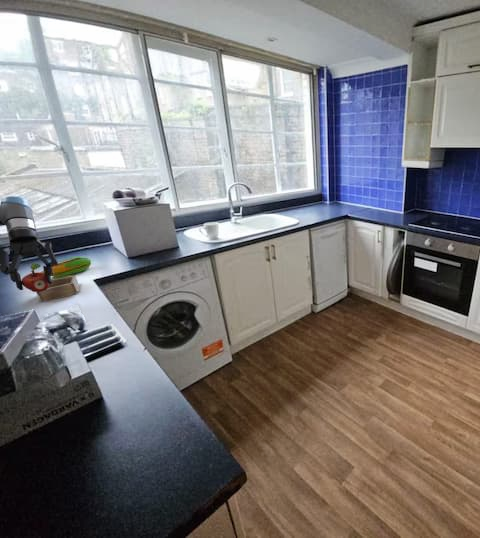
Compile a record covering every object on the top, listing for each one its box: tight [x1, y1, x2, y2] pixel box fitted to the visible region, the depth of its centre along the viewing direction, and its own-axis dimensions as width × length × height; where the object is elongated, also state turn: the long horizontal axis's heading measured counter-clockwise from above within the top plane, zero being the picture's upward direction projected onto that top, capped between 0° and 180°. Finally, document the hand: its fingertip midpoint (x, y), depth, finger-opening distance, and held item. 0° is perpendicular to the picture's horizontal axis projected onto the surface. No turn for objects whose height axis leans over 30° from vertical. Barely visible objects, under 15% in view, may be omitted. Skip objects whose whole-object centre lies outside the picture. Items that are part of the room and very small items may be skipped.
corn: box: [40, 256, 92, 279], centre depth 143 cm, size 7×8×20 cm
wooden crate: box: [36, 274, 80, 303], centre depth 125 cm, size 11×11×5 cm
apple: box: [21, 263, 48, 293], centre depth 109 cm, size 8×7×10 cm
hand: (35, 285), depth 107 cm, fingers closed on apple, 7 cm apart
